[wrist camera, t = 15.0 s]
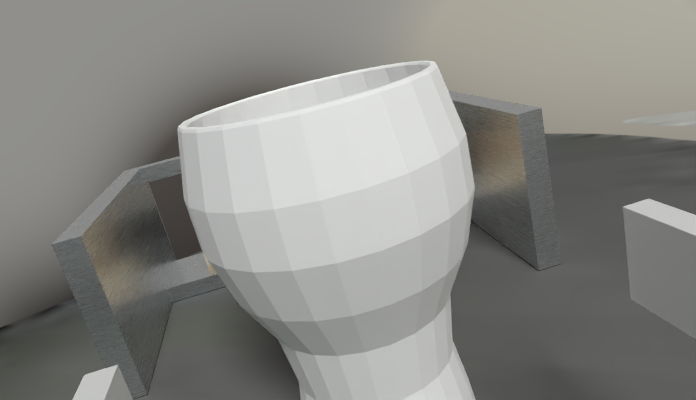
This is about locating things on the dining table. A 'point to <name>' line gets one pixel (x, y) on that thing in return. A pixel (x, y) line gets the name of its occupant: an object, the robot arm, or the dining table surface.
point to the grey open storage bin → (195, 278)
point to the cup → (341, 225)
